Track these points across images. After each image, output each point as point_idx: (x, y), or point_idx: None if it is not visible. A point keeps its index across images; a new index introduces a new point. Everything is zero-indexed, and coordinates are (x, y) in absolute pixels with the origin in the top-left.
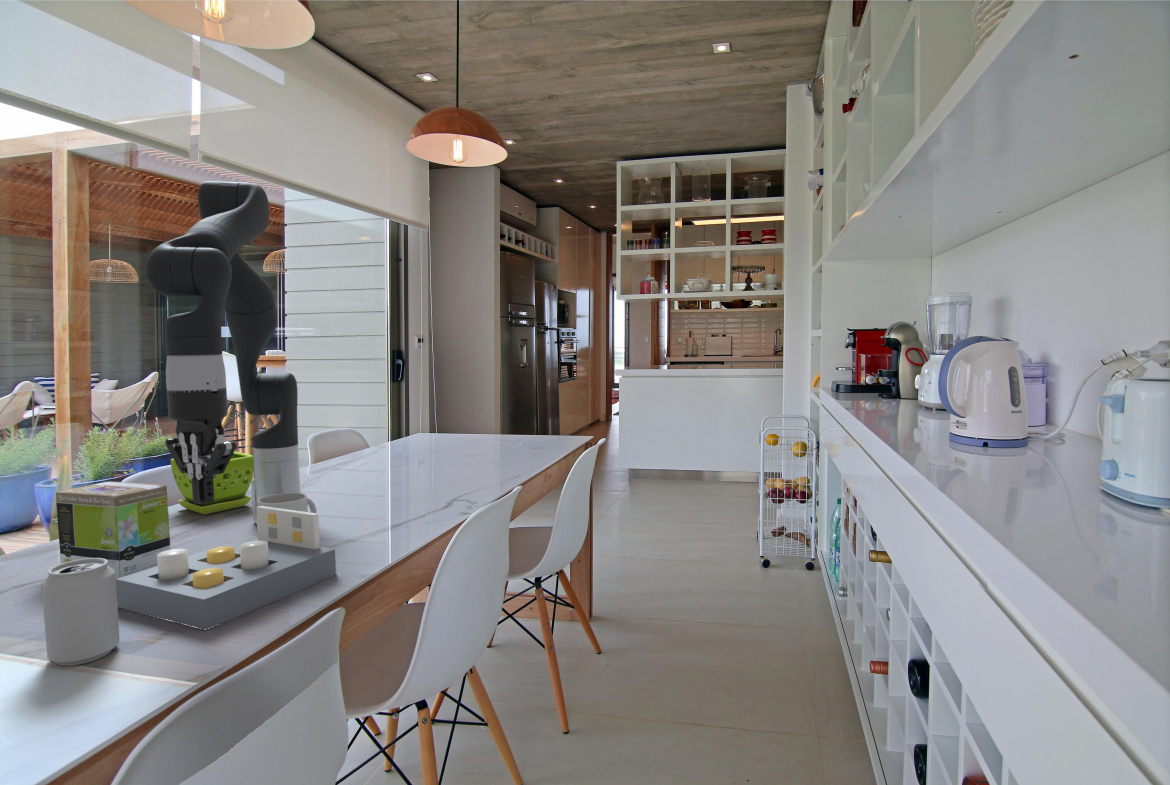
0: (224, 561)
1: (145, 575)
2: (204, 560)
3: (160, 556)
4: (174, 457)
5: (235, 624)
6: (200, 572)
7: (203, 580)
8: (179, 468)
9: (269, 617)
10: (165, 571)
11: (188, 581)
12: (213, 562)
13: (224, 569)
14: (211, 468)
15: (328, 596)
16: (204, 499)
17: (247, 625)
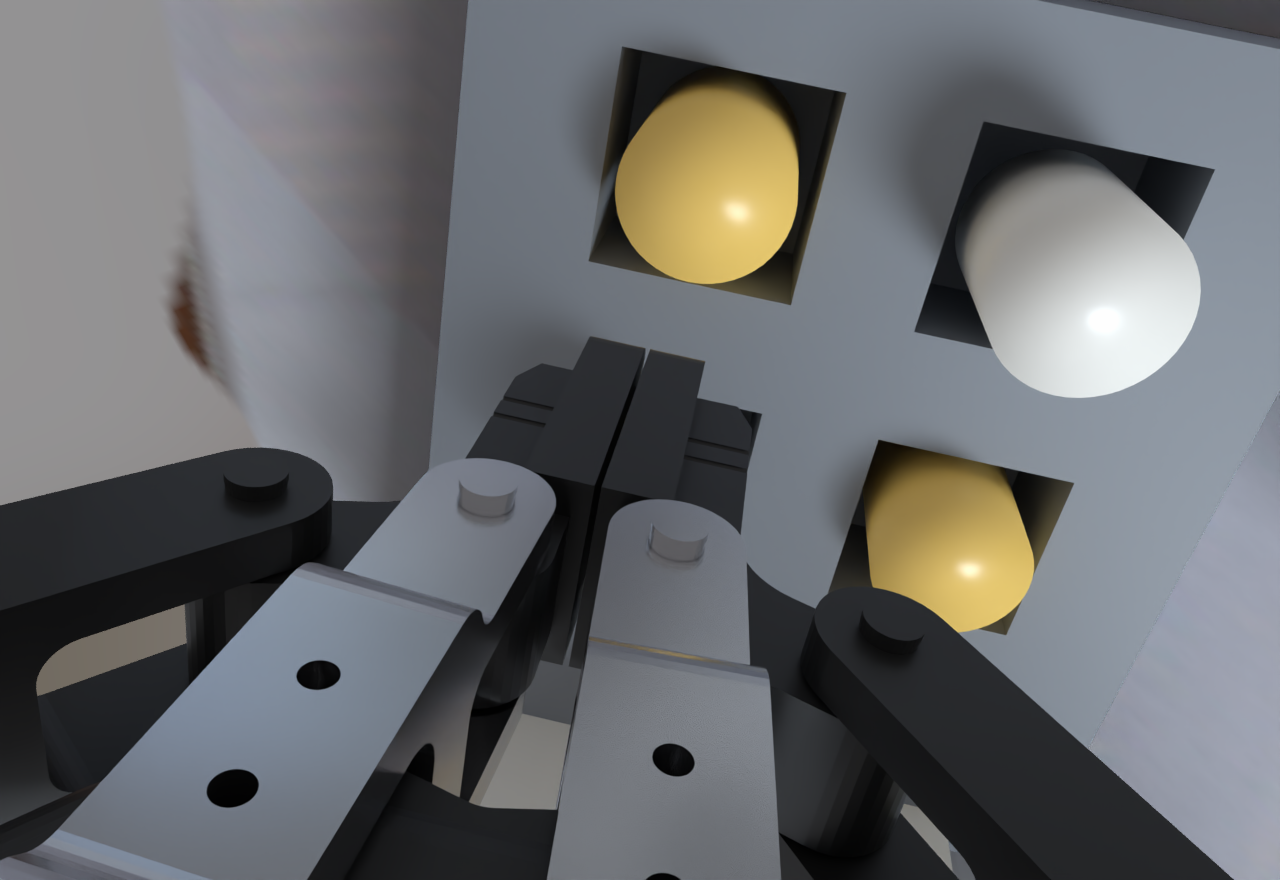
0: (883, 498)
1: (1247, 189)
2: (1051, 517)
3: (1128, 216)
4: (1159, 856)
5: (444, 7)
6: (759, 188)
7: (667, 106)
8: (971, 659)
9: (349, 127)
10: (1057, 182)
11: (840, 151)
12: (940, 474)
13: (767, 374)
14: (66, 493)
15: (283, 405)
16: (541, 370)
17: (374, 11)
